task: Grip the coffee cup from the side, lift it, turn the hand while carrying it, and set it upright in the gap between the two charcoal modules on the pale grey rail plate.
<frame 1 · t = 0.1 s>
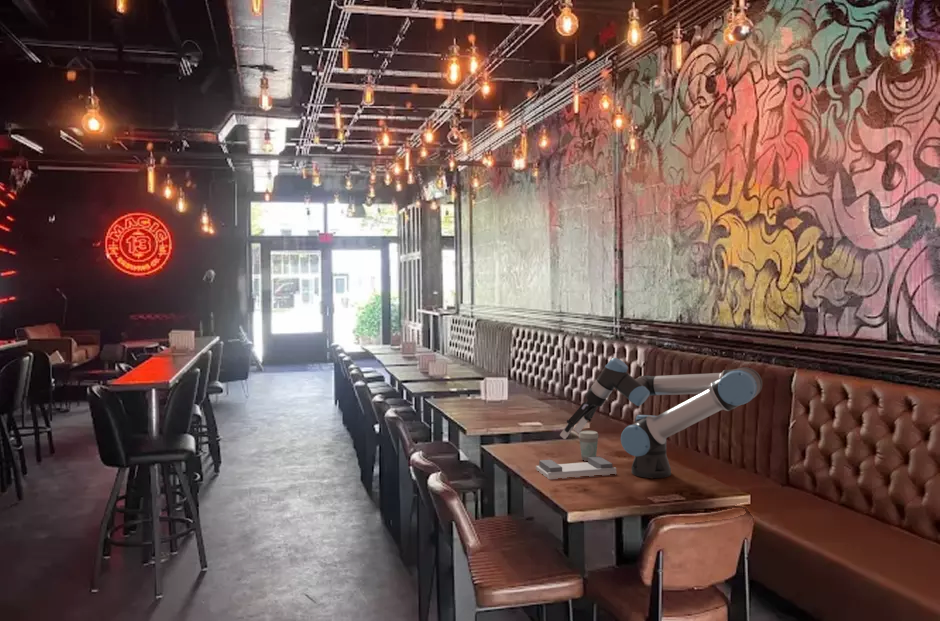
hand: (569, 434, 292), 15 cm above the table, tool tilted 35°, fingers open, 13 cm apart
coffee cup: (588, 460, 312), on the table
rail plate: (575, 471, 293), on the table
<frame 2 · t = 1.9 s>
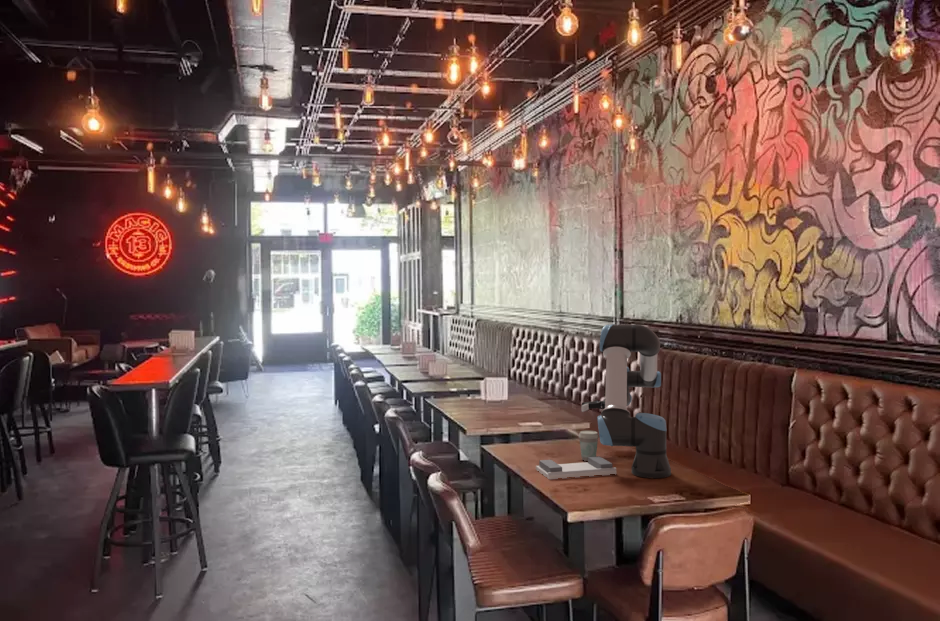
hand: (596, 410, 320), 20 cm above the table, tool horizontal, fingers open, 13 cm apart
nothing on the table moved.
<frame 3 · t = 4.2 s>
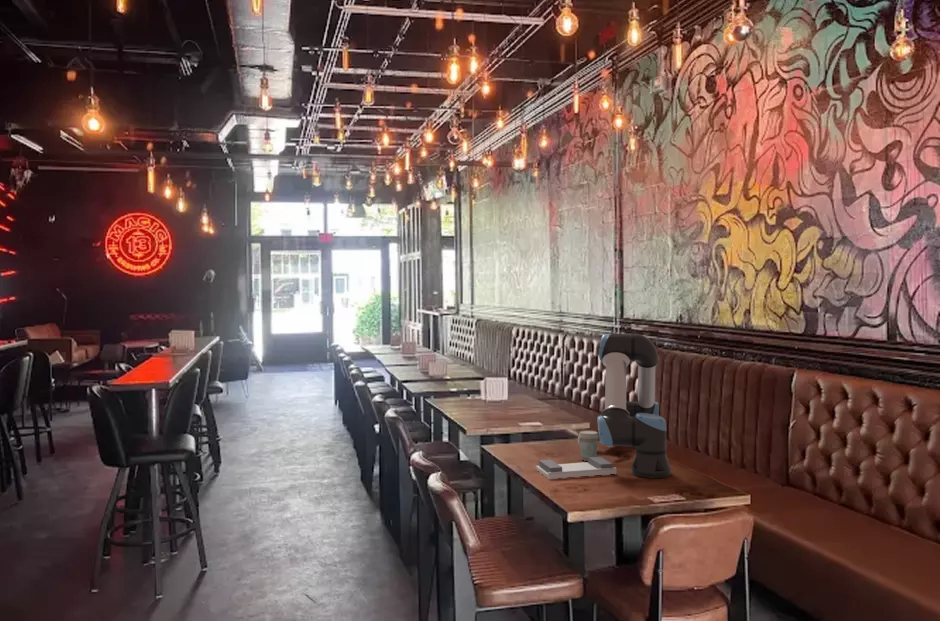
hand: (592, 442, 317), 6 cm above the table, tool horizontal, fingers open, 13 cm apart
nothing on the table moved.
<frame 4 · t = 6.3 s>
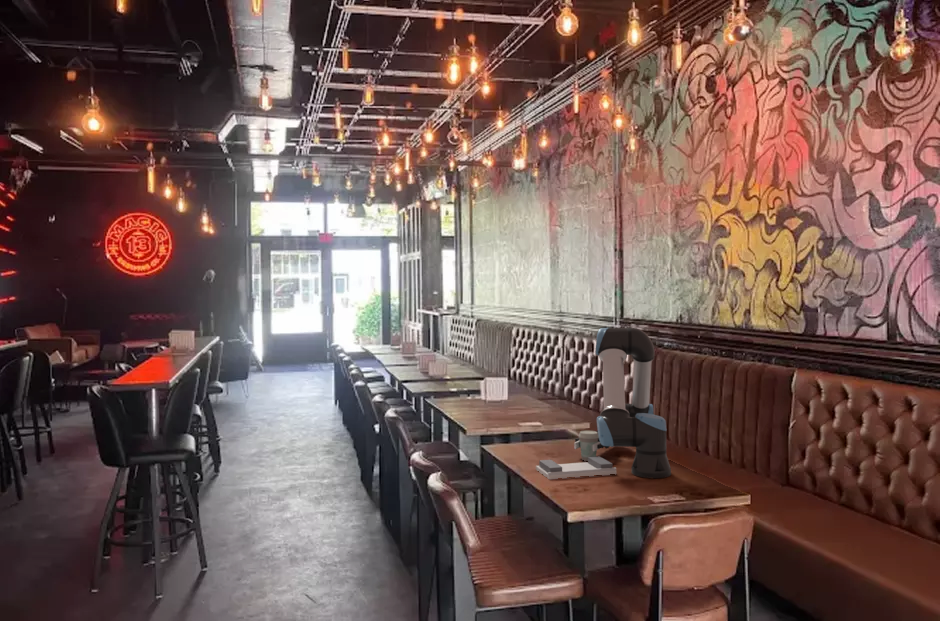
hand: (584, 446, 308), 7 cm above the table, tool horizontal, fingers closed on coffee cup, 8 cm apart
coffee cup: (588, 460, 312), on the table, touching gripper
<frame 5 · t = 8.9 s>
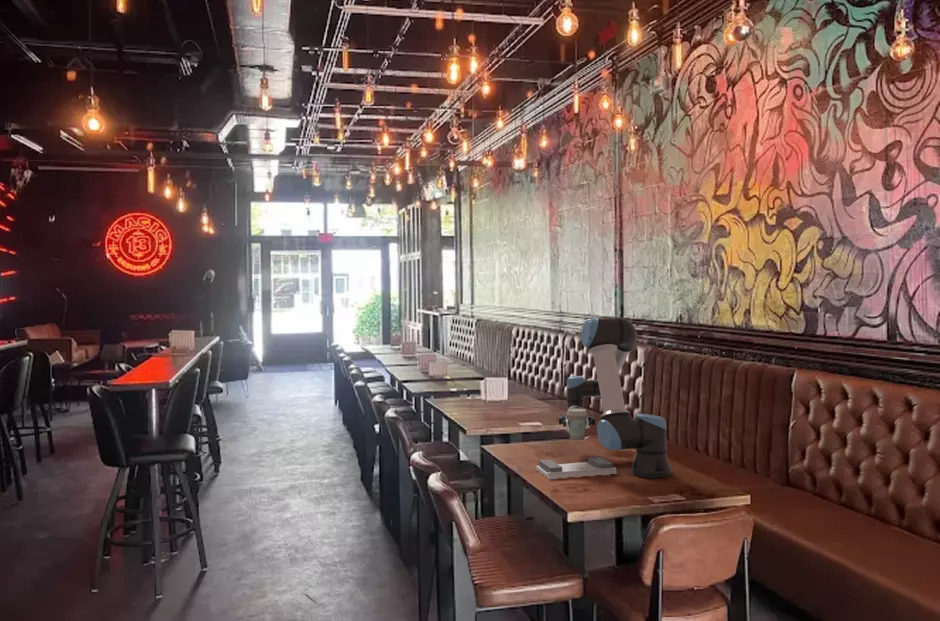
hand: (577, 425, 297), 18 cm above the table, tool horizontal, fingers closed on coffee cup, 8 cm apart
coffee cup: (577, 439, 302), point 11 cm above the table, touching gripper
when the fingers open (10 cm above the table, at t = 11.6 s): coffee cup stays where it is, point 2 cm above the table.
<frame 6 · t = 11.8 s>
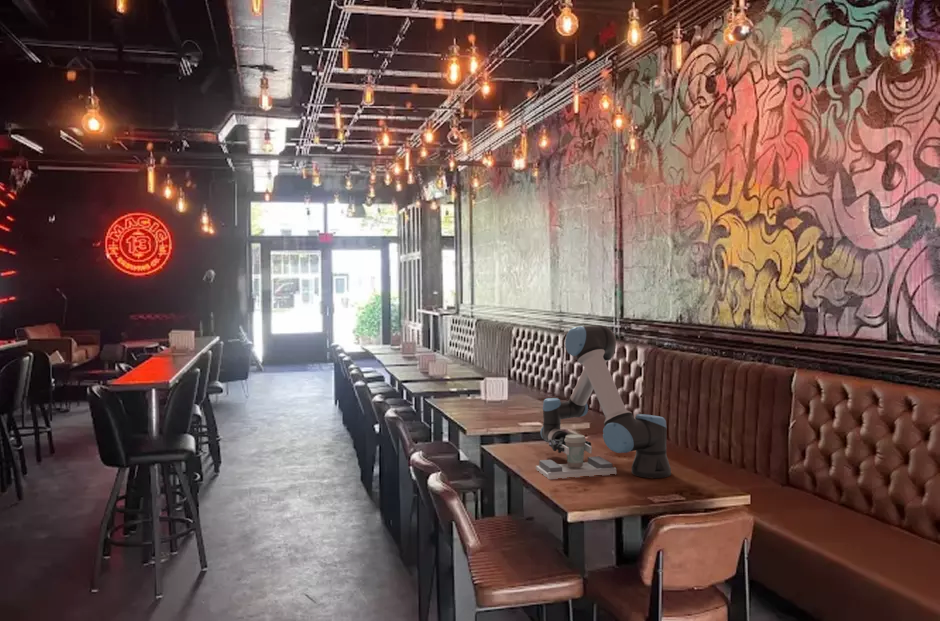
hand: (579, 450, 288), 10 cm above the table, tool horizontal, fingers open, 9 cm apart
coffee cup: (575, 466, 293), point 2 cm above the table, touching gripper
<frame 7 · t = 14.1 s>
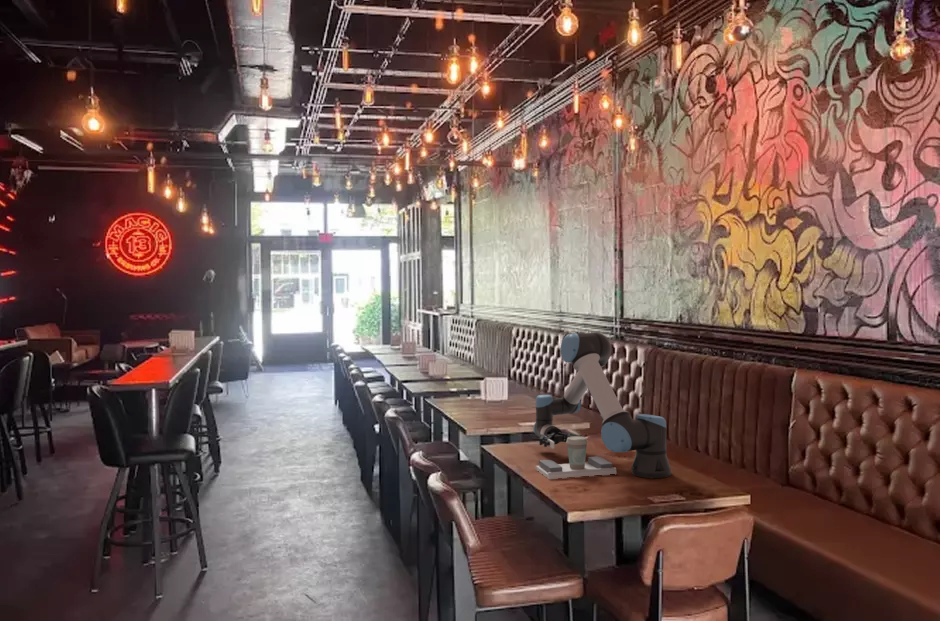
hand: (569, 444, 299), 10 cm above the table, tool horizontal, fingers open, 13 cm apart
coffee cup: (577, 468, 293), point 1 cm above the table, touching rail plate
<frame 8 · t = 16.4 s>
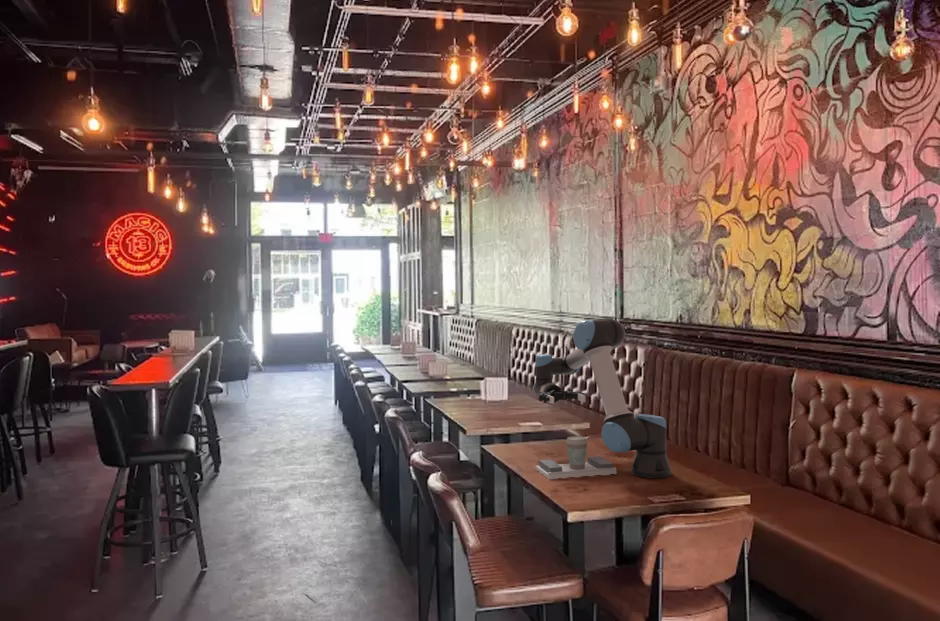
hand: (569, 399, 298), 28 cm above the table, tool horizontal, fingers open, 13 cm apart
nothing on the table moved.
at the end: coffee cup inside the target area on the rail plate (1.1 cm from its centre), point 1.3 cm above the rail plate's base; coffee cup tilted 1°; the gripper is holding nothing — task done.
